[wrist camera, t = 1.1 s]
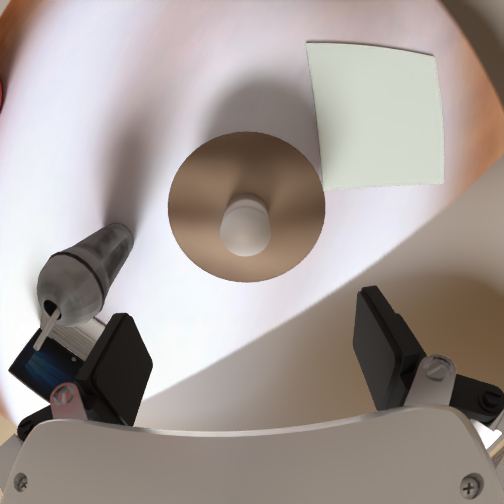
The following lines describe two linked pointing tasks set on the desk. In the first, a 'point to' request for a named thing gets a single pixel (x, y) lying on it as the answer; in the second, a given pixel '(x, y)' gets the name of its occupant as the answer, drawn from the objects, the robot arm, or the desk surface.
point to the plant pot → (0, 93)
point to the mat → (376, 116)
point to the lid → (246, 207)
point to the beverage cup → (82, 277)
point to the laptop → (55, 356)
